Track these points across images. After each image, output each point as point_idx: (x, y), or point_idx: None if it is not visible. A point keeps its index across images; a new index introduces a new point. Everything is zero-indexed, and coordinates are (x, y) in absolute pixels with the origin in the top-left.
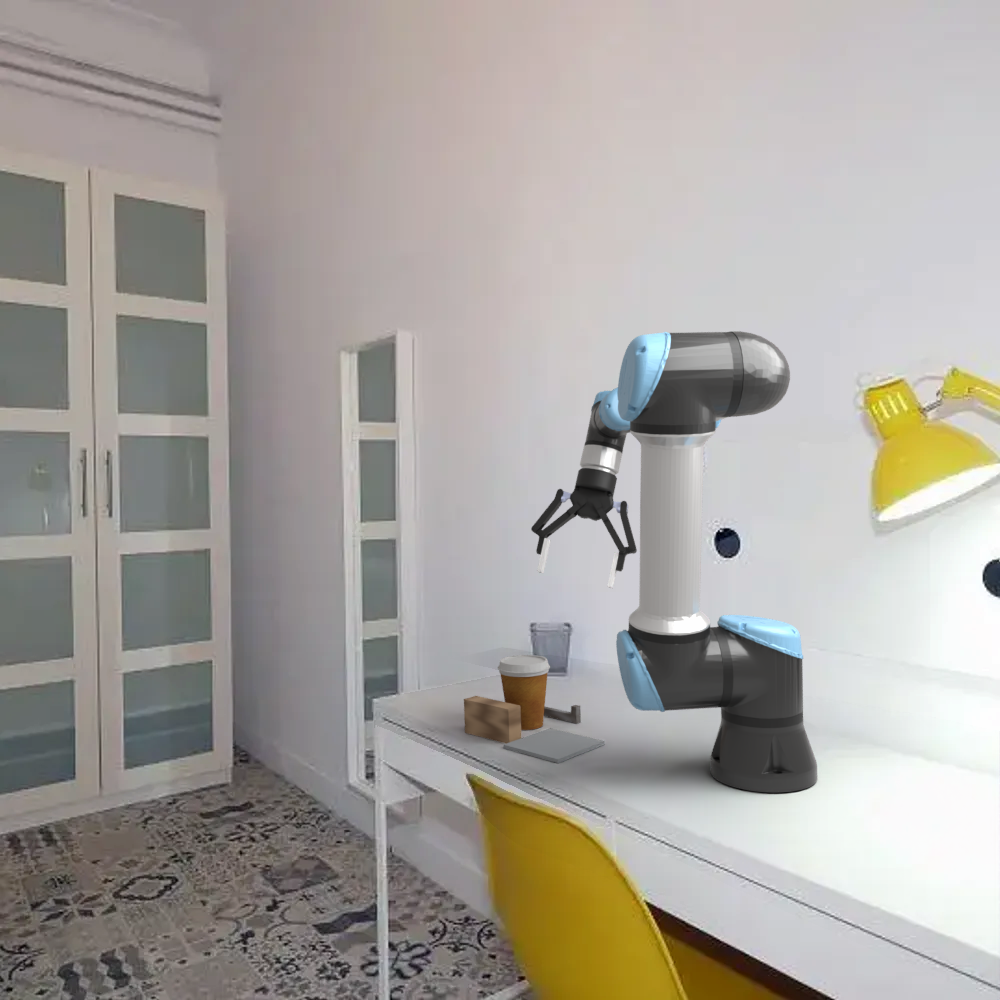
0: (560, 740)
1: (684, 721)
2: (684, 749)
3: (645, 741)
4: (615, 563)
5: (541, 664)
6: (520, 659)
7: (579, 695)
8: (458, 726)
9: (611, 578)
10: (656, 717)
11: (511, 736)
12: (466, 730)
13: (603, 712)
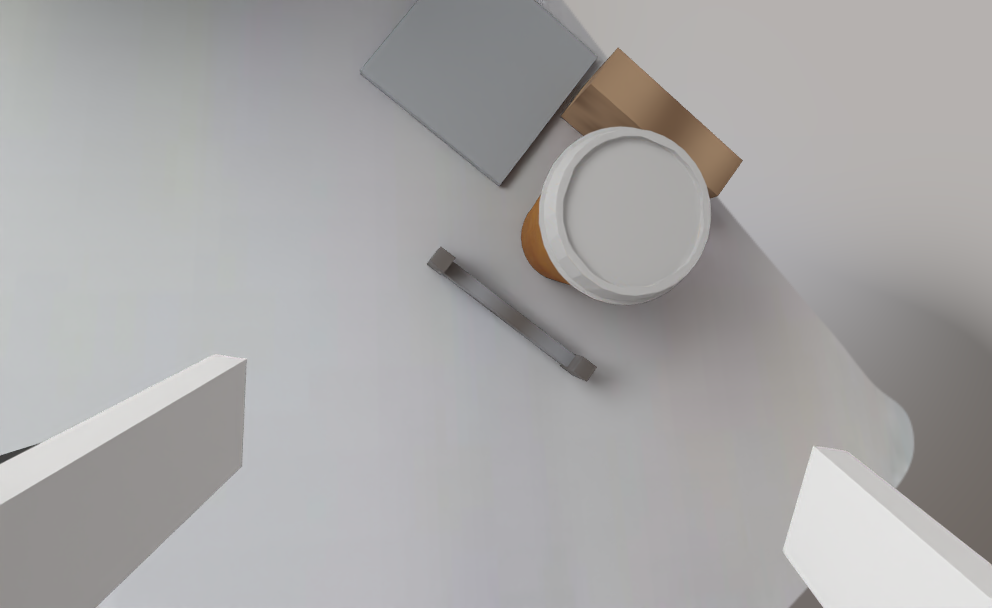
0: (469, 80)
1: (130, 274)
2: (151, 23)
3: (254, 95)
4: (46, 444)
5: (569, 158)
6: (646, 249)
7: (440, 535)
8: (713, 231)
9: (182, 379)
10: (213, 313)
11: (586, 83)
12: None
13: (367, 360)
